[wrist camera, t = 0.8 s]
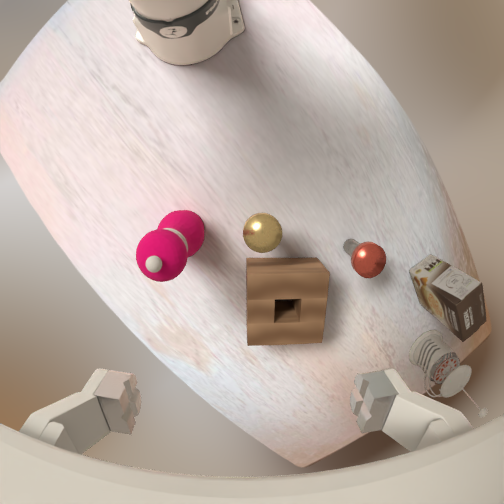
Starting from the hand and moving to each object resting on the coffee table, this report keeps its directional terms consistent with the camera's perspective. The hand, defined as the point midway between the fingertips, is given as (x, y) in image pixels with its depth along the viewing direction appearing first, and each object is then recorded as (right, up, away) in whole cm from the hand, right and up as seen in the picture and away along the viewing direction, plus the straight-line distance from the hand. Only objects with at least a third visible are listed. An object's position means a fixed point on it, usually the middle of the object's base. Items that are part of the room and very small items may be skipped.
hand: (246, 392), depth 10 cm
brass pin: (+1, +10, +39) cm, 40 cm away
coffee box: (+35, -1, +43) cm, 56 cm away
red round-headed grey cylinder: (+17, +6, +40) cm, 44 cm away
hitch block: (+5, -2, +42) cm, 43 cm away
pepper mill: (-11, +9, +39) cm, 41 cm away
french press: (+40, -18, +48) cm, 65 cm away
